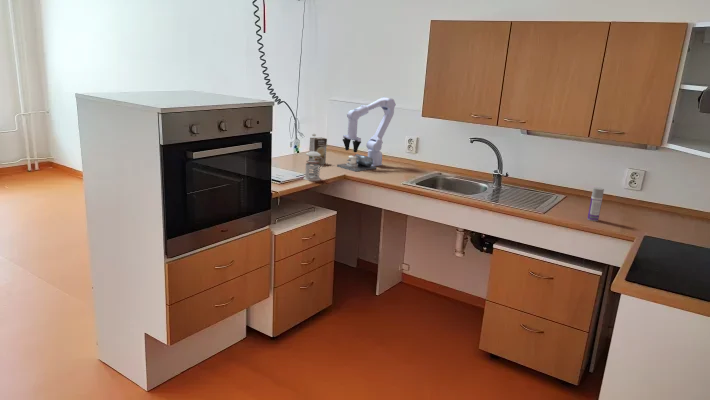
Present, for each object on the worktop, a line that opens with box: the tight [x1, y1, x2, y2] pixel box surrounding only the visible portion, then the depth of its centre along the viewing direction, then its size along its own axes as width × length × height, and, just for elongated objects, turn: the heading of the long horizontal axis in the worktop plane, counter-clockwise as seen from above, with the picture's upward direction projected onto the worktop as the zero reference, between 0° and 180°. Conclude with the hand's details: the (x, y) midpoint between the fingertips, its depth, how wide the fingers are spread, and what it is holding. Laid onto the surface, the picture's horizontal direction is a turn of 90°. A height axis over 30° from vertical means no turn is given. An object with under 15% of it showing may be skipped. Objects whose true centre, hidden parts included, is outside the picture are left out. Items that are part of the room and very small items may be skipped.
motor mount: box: [336, 153, 377, 172], centre depth 326 cm, size 18×17×7 cm
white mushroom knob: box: [346, 155, 358, 164], centre depth 324 cm, size 7×6×6 cm
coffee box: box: [308, 137, 328, 165], centre depth 331 cm, size 9×6×16 cm
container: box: [587, 186, 605, 222], centre depth 241 cm, size 5×5×15 cm
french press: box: [303, 133, 324, 182], centre depth 286 cm, size 10×12×25 cm
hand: (351, 151), depth 329 cm, fingers open, 7 cm apart
